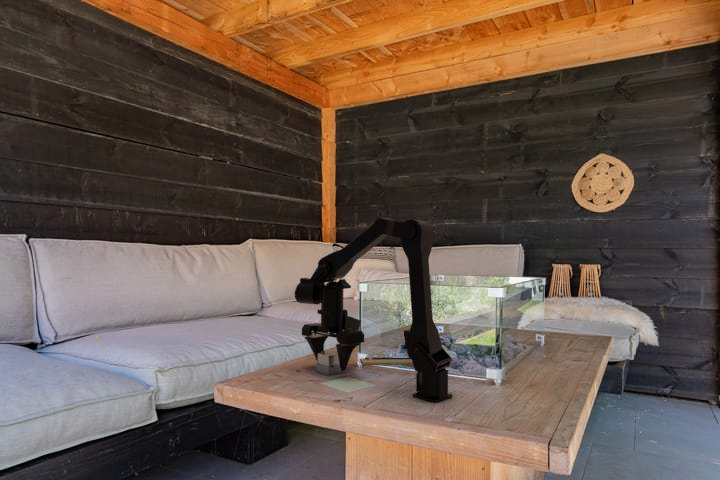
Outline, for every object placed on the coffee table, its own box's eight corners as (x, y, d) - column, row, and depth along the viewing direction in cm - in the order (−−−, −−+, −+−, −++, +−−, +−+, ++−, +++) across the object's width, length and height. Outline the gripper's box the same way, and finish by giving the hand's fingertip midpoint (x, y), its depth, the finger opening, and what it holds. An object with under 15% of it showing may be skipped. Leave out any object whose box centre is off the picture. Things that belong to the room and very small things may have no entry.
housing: (346, 372, 122) (346, 350, 122) (328, 376, 118) (328, 354, 118) (334, 369, 125) (334, 348, 126) (315, 372, 121) (316, 351, 121)
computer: (412, 365, 139) (412, 353, 139) (419, 372, 131) (419, 359, 131) (359, 366, 138) (359, 354, 138) (362, 373, 129) (362, 360, 130)
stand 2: (377, 391, 110) (377, 385, 110) (347, 399, 104) (347, 392, 104) (348, 383, 117) (348, 376, 117) (319, 389, 111) (319, 383, 111)
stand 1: (357, 379, 121) (357, 373, 121) (330, 385, 115) (330, 379, 115) (332, 372, 128) (332, 366, 128) (305, 377, 122) (305, 371, 122)
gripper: (380, 306, 121) (379, 368, 120) (333, 301, 134) (332, 356, 134) (347, 310, 113) (346, 376, 113) (300, 303, 127) (300, 362, 126)
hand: (331, 367), depth 122 cm, fingers open, 9 cm apart
